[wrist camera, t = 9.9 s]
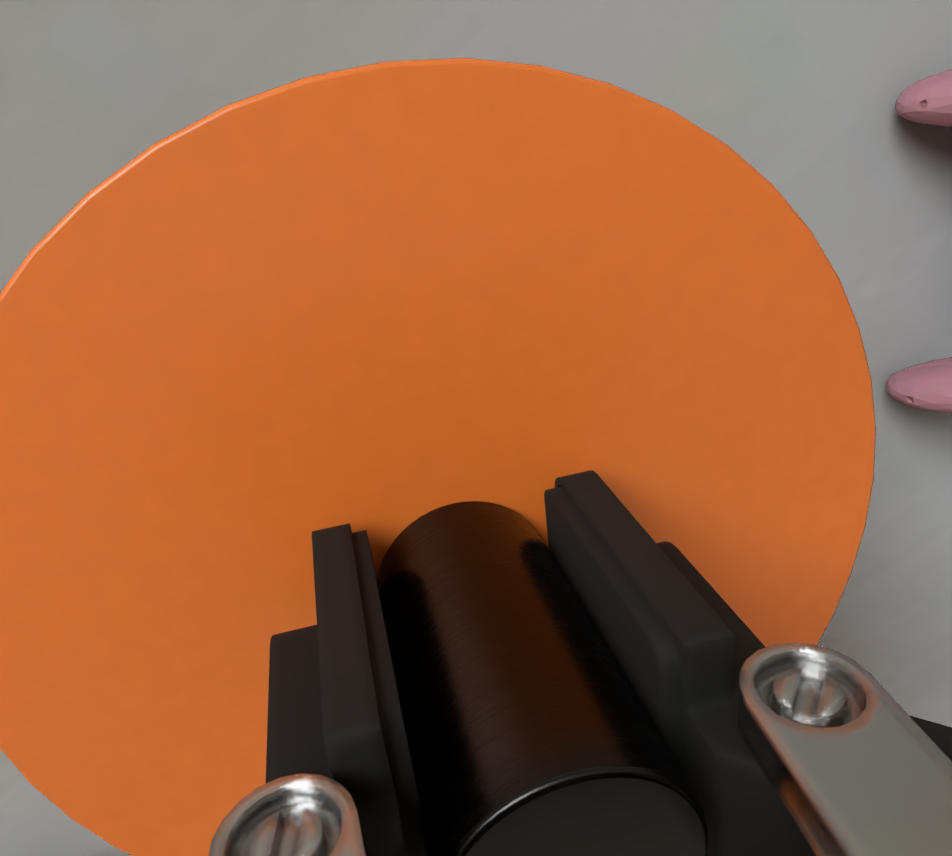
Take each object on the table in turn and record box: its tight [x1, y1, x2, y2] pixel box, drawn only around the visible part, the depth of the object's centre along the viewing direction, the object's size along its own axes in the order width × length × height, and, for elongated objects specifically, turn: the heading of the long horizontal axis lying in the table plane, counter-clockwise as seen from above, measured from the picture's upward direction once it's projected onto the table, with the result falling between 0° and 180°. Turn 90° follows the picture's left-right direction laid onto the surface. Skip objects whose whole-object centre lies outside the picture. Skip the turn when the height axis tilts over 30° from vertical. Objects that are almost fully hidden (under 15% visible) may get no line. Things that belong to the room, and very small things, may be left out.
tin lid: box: [0, 58, 876, 856], centre depth 10 cm, size 14×14×6 cm
